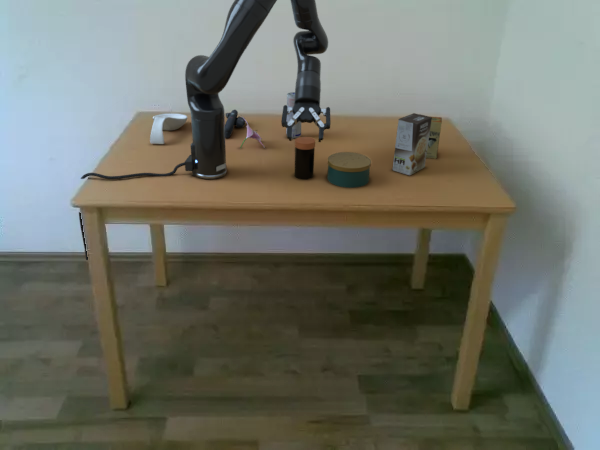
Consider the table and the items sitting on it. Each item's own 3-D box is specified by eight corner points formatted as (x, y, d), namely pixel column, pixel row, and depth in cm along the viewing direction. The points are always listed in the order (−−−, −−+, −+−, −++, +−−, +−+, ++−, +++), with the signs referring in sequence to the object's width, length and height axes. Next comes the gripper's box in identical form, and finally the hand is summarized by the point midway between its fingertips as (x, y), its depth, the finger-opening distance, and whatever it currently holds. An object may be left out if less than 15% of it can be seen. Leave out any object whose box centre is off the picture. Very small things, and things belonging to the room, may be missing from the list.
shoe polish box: (421, 151, 192) (425, 116, 186) (436, 153, 191) (441, 117, 185) (420, 157, 187) (425, 120, 182) (436, 158, 187) (441, 122, 181)
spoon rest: (158, 121, 211) (156, 102, 208) (190, 122, 211) (189, 103, 207) (140, 144, 190) (137, 123, 187) (176, 146, 190) (174, 124, 187)
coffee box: (410, 176, 173) (417, 124, 166) (391, 170, 177) (397, 119, 169) (425, 167, 180) (432, 116, 172) (407, 162, 183) (413, 112, 176)
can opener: (228, 122, 213) (227, 107, 210) (247, 123, 212) (246, 108, 209) (215, 138, 197) (214, 122, 195) (235, 140, 197) (235, 123, 194)
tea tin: (292, 179, 169) (293, 142, 164) (295, 171, 174) (296, 136, 169) (312, 180, 169) (314, 144, 164) (314, 172, 174) (316, 137, 169)
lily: (259, 158, 185) (272, 130, 184) (225, 142, 184) (238, 114, 183) (261, 156, 197) (274, 130, 195) (229, 141, 196) (241, 114, 194)
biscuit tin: (325, 186, 165) (326, 166, 163) (328, 169, 176) (329, 150, 173) (369, 189, 164) (371, 169, 162) (369, 172, 175) (371, 153, 172)
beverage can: (303, 136, 202) (305, 93, 195) (295, 140, 198) (297, 96, 191) (291, 133, 204) (292, 90, 197) (283, 137, 200) (284, 93, 193)
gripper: (283, 82, 171) (279, 133, 166) (332, 84, 170) (330, 135, 165) (284, 95, 178) (280, 144, 173) (331, 97, 177) (329, 147, 173)
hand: (305, 140), depth 169 cm, fingers open, 8 cm apart
